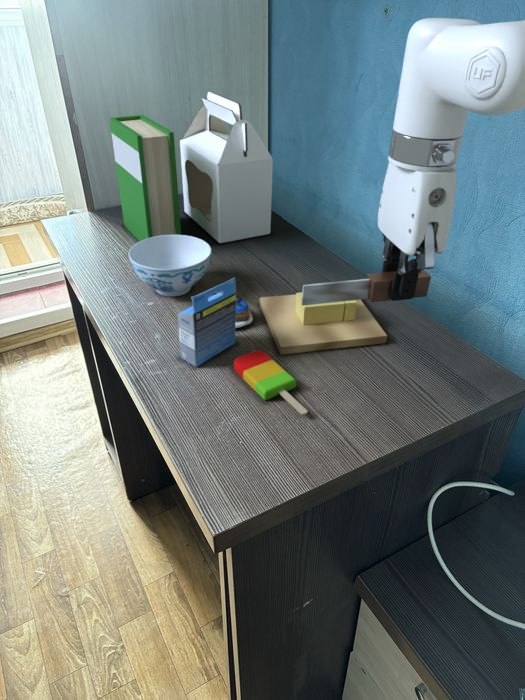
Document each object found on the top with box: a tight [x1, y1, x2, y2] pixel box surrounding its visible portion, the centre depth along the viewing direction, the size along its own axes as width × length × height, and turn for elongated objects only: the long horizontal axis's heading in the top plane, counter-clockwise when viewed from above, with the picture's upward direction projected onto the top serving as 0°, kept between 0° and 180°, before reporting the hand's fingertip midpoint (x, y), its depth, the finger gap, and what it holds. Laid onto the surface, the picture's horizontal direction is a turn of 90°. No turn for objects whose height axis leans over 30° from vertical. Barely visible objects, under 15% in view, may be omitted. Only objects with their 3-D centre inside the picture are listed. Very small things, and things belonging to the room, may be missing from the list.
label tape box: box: [177, 277, 237, 368], centre depth 79 cm, size 9×4×12 cm, turn 139°
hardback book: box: [108, 114, 182, 242], centre depth 113 cm, size 18×7×24 cm, turn 30°
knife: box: [301, 269, 432, 306], centre depth 67 cm, size 17×2×3 cm, turn 104°
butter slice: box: [343, 300, 357, 321], centre depth 89 cm, size 2×5×4 cm, turn 12°
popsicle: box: [233, 350, 308, 416], centre depth 75 cm, size 6×15×2 cm, turn 34°
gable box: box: [179, 91, 274, 244], centre depth 119 cm, size 22×13×28 cm, turn 28°
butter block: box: [295, 291, 345, 325], centre depth 88 cm, size 7×5×4 cm
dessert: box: [235, 297, 254, 329], centre depth 90 cm, size 8×7×6 cm
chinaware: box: [128, 234, 212, 297], centre depth 97 cm, size 15×15×8 cm
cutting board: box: [259, 293, 388, 356], centre depth 90 cm, size 18×16×2 cm
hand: (396, 292), depth 69 cm, fingers closed on knife, 2 cm apart
